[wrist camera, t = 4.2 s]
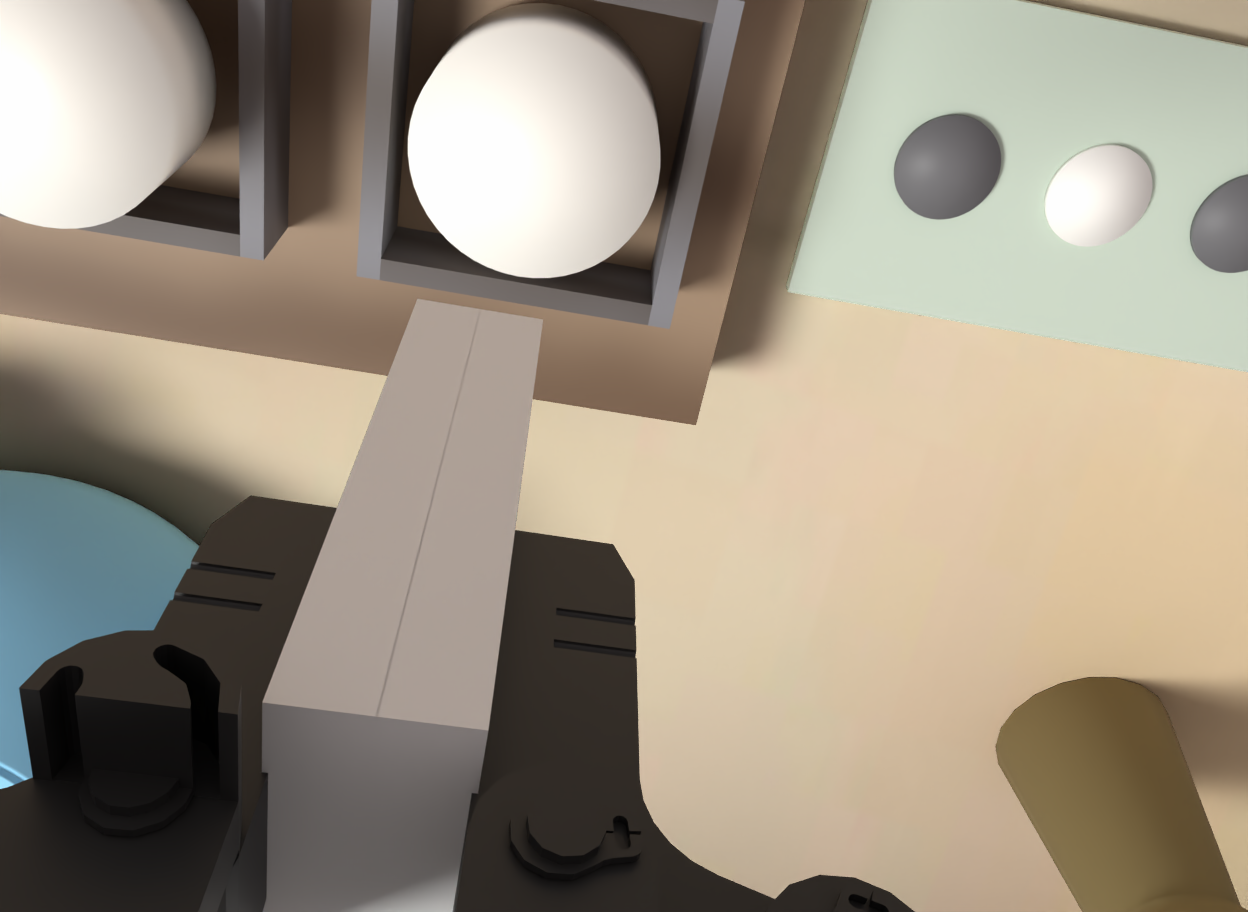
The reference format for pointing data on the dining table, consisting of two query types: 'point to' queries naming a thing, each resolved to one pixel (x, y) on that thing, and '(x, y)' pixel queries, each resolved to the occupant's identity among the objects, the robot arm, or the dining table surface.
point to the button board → (394, 217)
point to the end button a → (536, 142)
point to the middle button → (97, 105)
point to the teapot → (72, 582)
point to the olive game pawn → (1114, 799)
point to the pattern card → (1039, 178)
